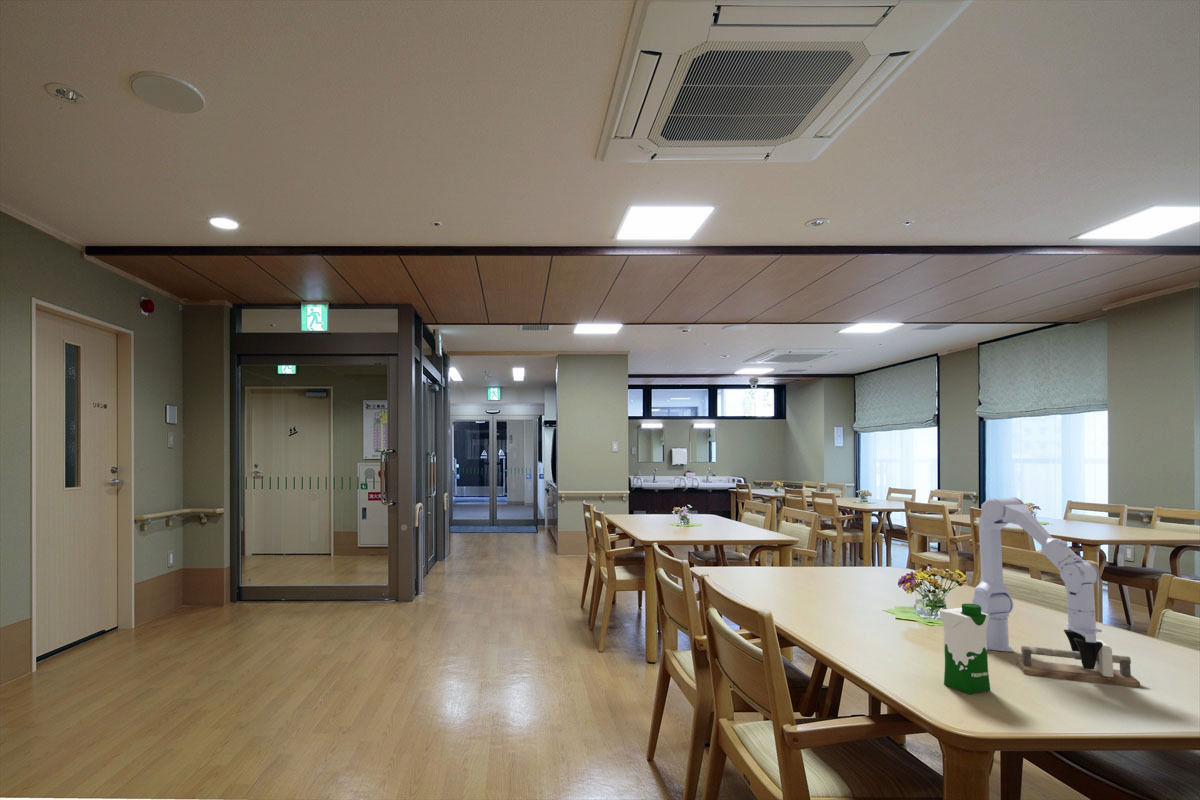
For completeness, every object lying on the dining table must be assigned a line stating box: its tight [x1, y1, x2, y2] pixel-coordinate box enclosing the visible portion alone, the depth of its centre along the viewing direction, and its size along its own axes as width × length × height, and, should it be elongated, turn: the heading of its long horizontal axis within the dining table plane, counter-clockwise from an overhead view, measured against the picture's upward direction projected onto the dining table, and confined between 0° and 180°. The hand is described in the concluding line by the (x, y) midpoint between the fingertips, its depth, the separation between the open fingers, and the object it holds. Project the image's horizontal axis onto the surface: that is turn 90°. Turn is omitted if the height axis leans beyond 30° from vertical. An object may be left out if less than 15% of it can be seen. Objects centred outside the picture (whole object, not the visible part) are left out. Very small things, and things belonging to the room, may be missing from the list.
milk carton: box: [939, 603, 991, 695], centre depth 158 cm, size 9×9×20 cm
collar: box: [1095, 639, 1114, 677], centre depth 164 cm, size 2×8×7 cm, turn 157°
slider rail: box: [1016, 645, 1141, 688], centre depth 166 cm, size 24×9×6 cm, turn 67°
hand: (1083, 663), depth 166 cm, fingers open, 7 cm apart
